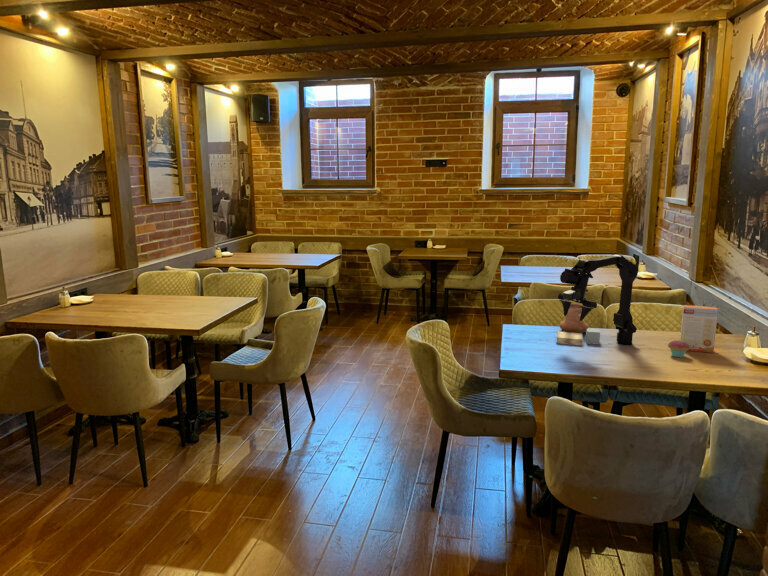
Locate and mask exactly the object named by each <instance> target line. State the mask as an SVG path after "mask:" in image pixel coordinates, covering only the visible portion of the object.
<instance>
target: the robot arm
mask: <svg viewBox="0 0 768 576" xmlns="http://www.w3.org/2000/svg"><path fill="white" fill-rule="evenodd" d="M614 265H615V267H616V268H617V270H618V275H619V277H620V280H621V287H620V294H619V296H620V297H619V305H618V306H619V307H618V310H617V312H614V313H613V319H612V321H613V325H614V326H615V329H616V330H617V331H618V332H616V342H617V344H618V345H630V346H631V345H632V346H633V335H634V333H636V332H637V329H638V328H637V327H636V325H635V324H634V322H633V321H634V320H633V315H632V313H631V305H632V295H633V294H632V293H633V286H634V281H635V280H636V279H637V277H638V273H639V266H638V265H637V264H636V263H633V262H632V261H631V260H629V259H627V258H626V257H625V256H624V255H622V254H613V255H610V256H609V255H608V256H604V257H599V258H580V259H578V261H577V263H576V264H575V265H574V266H573V267H572V268H571V269H569V268H565V269H564V270H563V271H562V272H561V273H560V276H559V279H560V282H561V283H562V284H566V285H572V286H571V288H570V289H569V290H566V291H563V292H560V293H558V295H557V299H558V300H559V301H558V302H560V303H561V304H562V309H563V316H564V317H565V316H566V315H567V313H568V310H569V308H570V305H571V304H572V302H573V303H576V304H580V305H583V306H581V308H582V312H581V316H580V321H582V320H583V321H584V319H585V318H586V316H588V314H590V312H591V311H592V310H594V309H597V307H598V302H597V301H595V300H594V301H593V300H588V299H586V292H587V293H588V292H589V289H588V285H589V279H594V276H593V274H592V273H593V272H594V271H596V270H597V269H599V268H603V267H608V266H614Z"/></svg>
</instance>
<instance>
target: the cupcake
mask: <svg viewBox="0 0 768 576" xmlns="http://www.w3.org/2000/svg"><path fill="white" fill-rule="evenodd" d="M684 336H685V332H684V333H683V337H682V340H681V341H680V339H679V340H672V341H670V342H668V345H667V348H669V349H670V352H671V356H673V357H674V358H675V357H676V358H684V357H685V354H686V353H687V351H690V350H689V344H687V343H686V342H683V339H684Z"/></svg>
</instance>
